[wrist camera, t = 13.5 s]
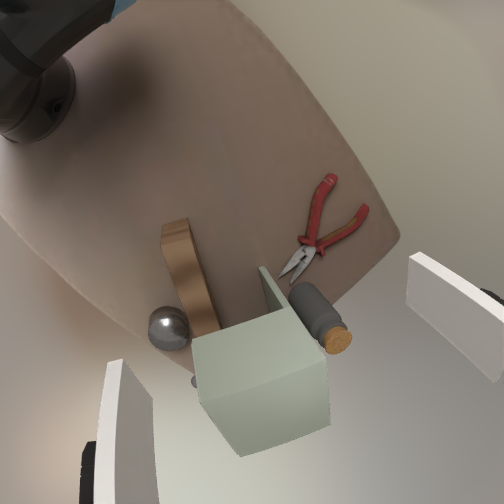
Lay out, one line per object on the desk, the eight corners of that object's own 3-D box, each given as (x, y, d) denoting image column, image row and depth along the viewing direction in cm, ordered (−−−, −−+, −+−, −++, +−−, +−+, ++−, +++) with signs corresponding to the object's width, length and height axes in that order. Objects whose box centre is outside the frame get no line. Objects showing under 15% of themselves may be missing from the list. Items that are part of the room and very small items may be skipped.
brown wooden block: (162, 225, 43) (160, 246, 35) (187, 217, 44) (190, 237, 36) (201, 332, 53) (208, 365, 45) (222, 326, 53) (231, 358, 45)
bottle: (290, 311, 56) (322, 362, 42) (286, 287, 53) (321, 336, 40) (317, 302, 56) (354, 349, 43) (314, 278, 54) (355, 322, 41)
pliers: (258, 263, 50) (262, 269, 48) (327, 169, 47) (334, 171, 44) (303, 290, 55) (309, 297, 53) (365, 206, 52) (373, 210, 49)
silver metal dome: (142, 315, 48) (140, 329, 45) (175, 300, 49) (175, 313, 45) (162, 341, 51) (162, 355, 48) (193, 327, 52) (195, 341, 48)
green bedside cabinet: (178, 293, 48) (188, 406, 27) (263, 265, 50) (326, 359, 29) (207, 356, 55) (230, 459, 34) (279, 332, 57) (330, 424, 36)
